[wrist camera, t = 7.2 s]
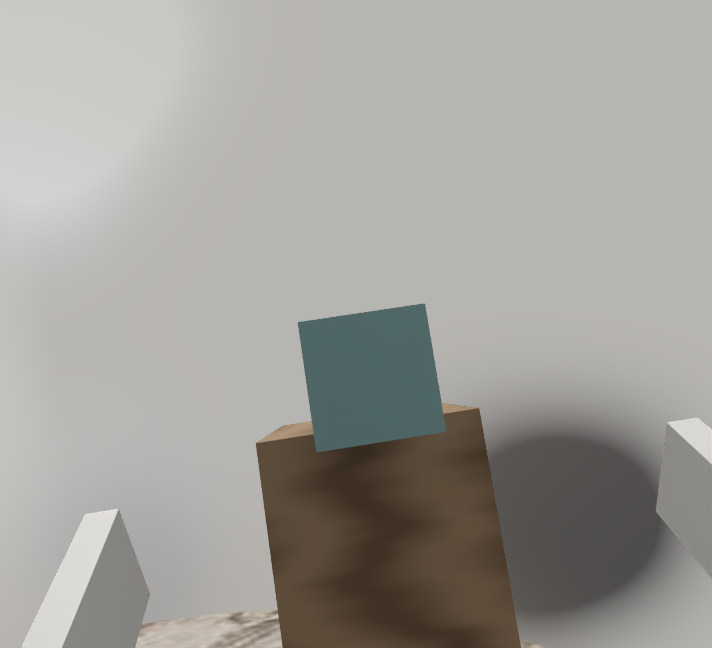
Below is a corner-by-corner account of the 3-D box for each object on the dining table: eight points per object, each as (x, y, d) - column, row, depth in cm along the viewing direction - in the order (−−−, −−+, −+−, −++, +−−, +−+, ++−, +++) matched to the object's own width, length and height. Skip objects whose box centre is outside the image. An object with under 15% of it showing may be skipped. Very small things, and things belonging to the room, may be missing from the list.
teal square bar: (316, 452, 17) (297, 322, 18) (329, 417, 39) (320, 359, 40) (446, 431, 17) (424, 303, 18) (387, 408, 39) (378, 350, 40)
